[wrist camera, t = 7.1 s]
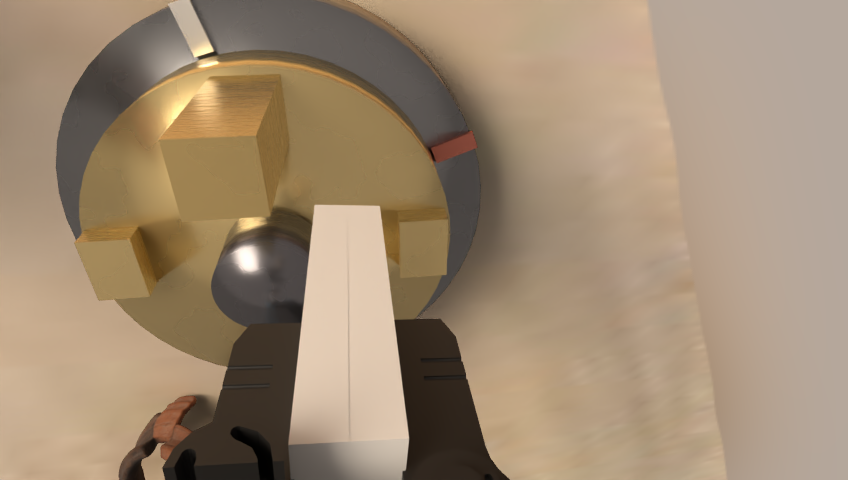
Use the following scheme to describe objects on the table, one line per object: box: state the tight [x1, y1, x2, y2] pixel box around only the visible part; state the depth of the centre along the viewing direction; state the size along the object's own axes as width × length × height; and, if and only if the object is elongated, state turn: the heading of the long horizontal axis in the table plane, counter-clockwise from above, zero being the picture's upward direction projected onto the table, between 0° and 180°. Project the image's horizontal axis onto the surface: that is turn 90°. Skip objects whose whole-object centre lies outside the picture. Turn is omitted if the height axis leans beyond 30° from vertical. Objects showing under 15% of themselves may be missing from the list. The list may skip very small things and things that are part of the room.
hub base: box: [56, 0, 481, 327], centre depth 23 cm, size 19×19×9 cm
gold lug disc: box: [75, 50, 450, 367], centre depth 21 cm, size 15×15×9 cm
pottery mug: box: [119, 396, 196, 480], centre depth 34 cm, size 12×9×8 cm
